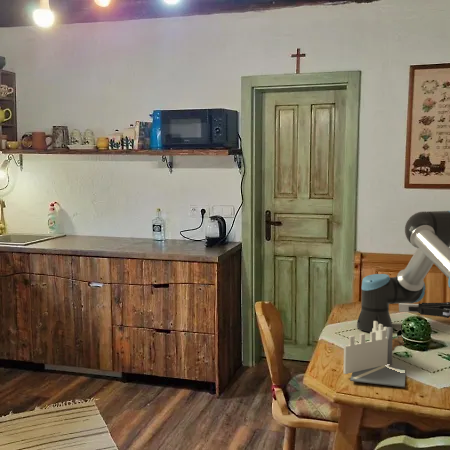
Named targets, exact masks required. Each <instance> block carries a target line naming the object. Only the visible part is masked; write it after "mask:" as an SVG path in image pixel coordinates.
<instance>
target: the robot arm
mask: <svg viewBox="0 0 450 450" xmlns="http://www.w3.org/2000/svg"><path fill="white" fill-rule="evenodd" d="M404 234H405V237H406V240H407V241H408V242H409V243H410V245H412V246H413V247H414V248H416V250H415V251H414V253H413V255H412V257H411V258H410V260H409V261H408V263H407V265H406V266H405V267H404V269H401V270H399V272H398V273H397V274H396V276H395V277H394V276H393V277H392V276H391V277H390V275H389V274H386V273H374V274H373V273H372V274H369V275H366V276H364V277H363V278H362V281H361V309H360V313H359V315H358V319H357V321H356V328H357V329H359V330H361V331H364V332H367V333H368V332H369V333H370V332H372V328H373V322H374V321H377V322H378V324H382V325H383V329H384V327H392V328H393V322H392V317H391V315H390V314H391V313H390V311H389V310H390V307H389V306H390V305H395V304H396V305H398V312H399V313H417V314H419V315H421V316H432V317H440V318H446V319H449V318H450V301H448V302H447V301H446V302H421V303H418V302H420V301H422V299H423V298H424V297H425V293H426V292H425V291H426V283H425V281H424V280H425V278H426V276H427V274H428V273H429V271H430V270H431V269H432V267H433V265H435V266H436V267H437V268H438V269H439V270H440V271H441V273H442V274H444V276H446V278H448V280H447V285H448V288H449V289H450V210H441V211H440V210H438V211H437V210H436V211H432V210H431V211H425V210H424V211H419V212H415V213H414V214H413V215H411V216H410V217H409V218H408V219H407V220H406V223H405V227H404Z"/></svg>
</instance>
